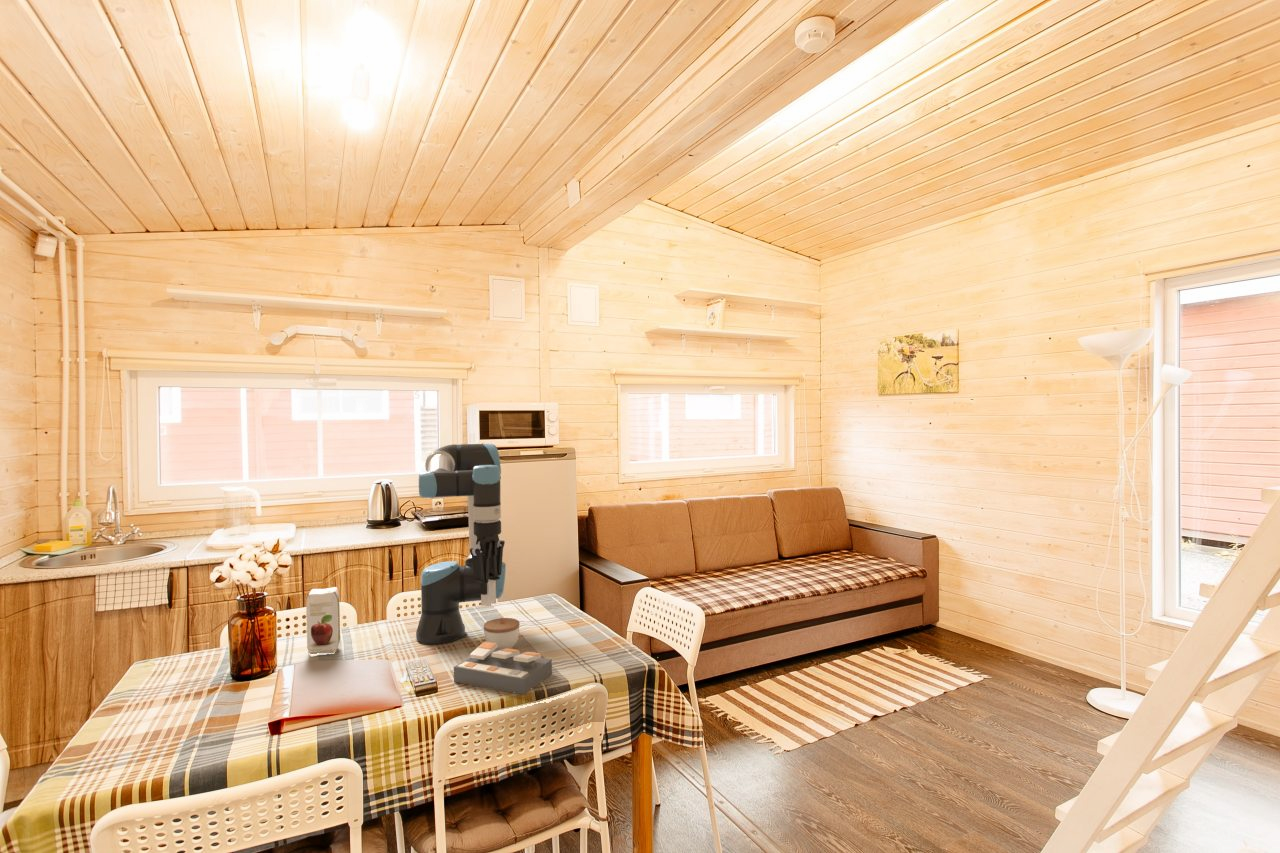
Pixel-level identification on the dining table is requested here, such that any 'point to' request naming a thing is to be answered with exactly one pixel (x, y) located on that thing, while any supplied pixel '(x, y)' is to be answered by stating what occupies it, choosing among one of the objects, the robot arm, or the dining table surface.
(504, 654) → the switch
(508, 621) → the lidded jar
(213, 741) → the dining table surface
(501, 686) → the switch unit
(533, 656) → the switch
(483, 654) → the switch
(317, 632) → the juice carton
